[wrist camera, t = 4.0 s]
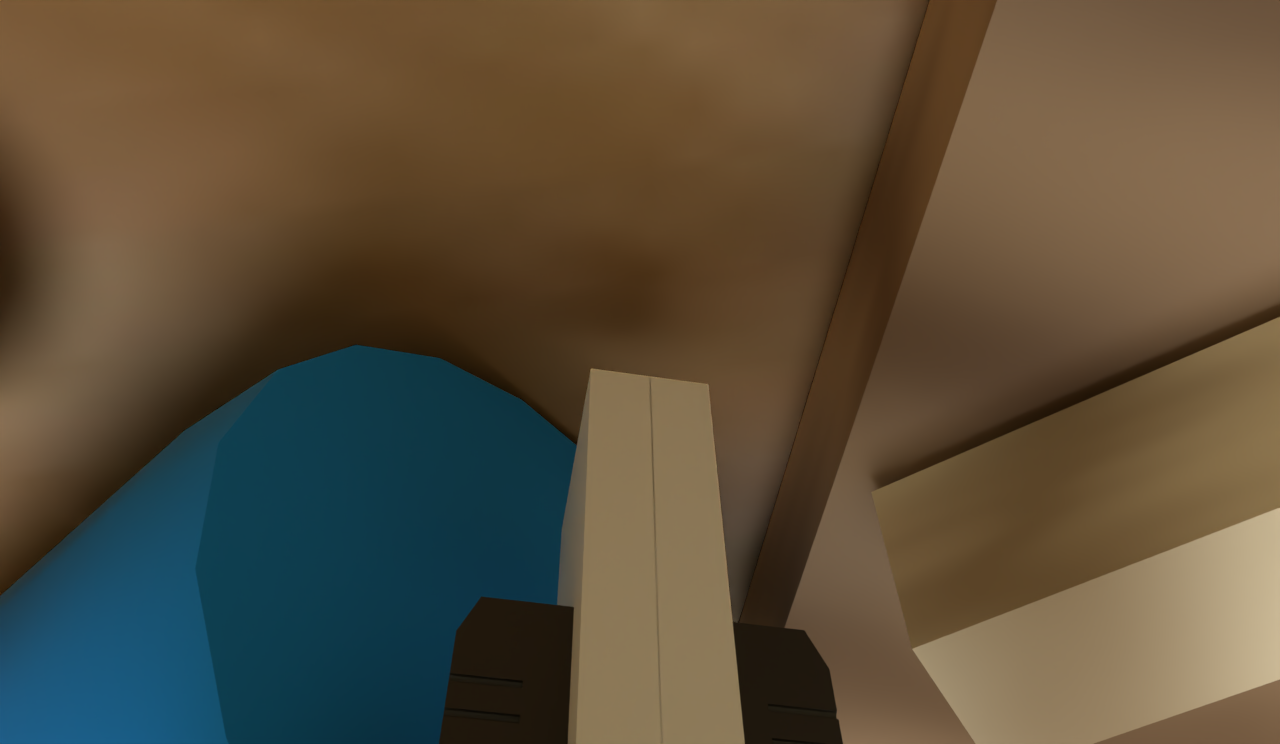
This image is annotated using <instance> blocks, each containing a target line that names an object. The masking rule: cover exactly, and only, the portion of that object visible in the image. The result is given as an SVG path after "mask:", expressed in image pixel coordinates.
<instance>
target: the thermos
mask: <svg viewBox="0 0 1280 744" xmlns="http://www.w3.org/2000/svg"><path fill="white" fill-rule="evenodd" d="M576 448H577V445H576V444H574V443H573V442H572V441H571V440H569V439H568V438H567V437H566V436H565V435H563V434H562V433H561V432H560V431H559V430H557V429H556V428H555V427H554V426H553V425H551V424H550V423H549V422H548V421H547V420H545V419H544V418H543V417H542V416H541V415H539V414H538V413H537V412H536V411H535V410H533V409H532V408H531V407H530V406H529V405H527V404H526V403H525V402H524V401H523V400H521V399H519V398H517V397H515V396H513V395H511V394H509V393H507V392H505V391H503V390H501V389H500V388H498V387H496V386H494V385H492V384H490V383H488V382H486V381H484V380H482V379H480V378H478V377H476V376H474V375H472V374H470V373H468V372H466V371H464V370H462V369H460V368H458V367H457V366H455V365H453V364H451V363H449V362H447V361H445V360H443V359H441V358H436V357H430V356H424V355H418V354H411V353H405V352H399V351H393V350H386V349H380V348H374V347H368V346H362V345H354V346H350V347H347V348H344V349H341V350H338V351H335V352H332V353H328V354H325V355H322V356H319V357H316V358H313V359H309V360H306V361H303V362H300V363H297V364H294V365H291V366H287V367H284V368H281V369H278V370H277V371H275V372H273V373H272V374H270V375H269V376H267V377H266V378H264V379H263V380H261V381H260V382H258V383H257V384H255V385H253V386H252V387H250V388H249V389H247V390H246V391H244V392H243V393H241V394H240V395H238V396H237V397H235V398H234V399H232V400H230V401H229V402H227V403H226V404H224V405H223V406H221V407H220V408H218V409H217V410H215V411H214V412H212V413H211V414H209V415H207V416H206V417H204V418H203V419H201V420H200V421H198V422H197V423H195V424H194V425H192V426H191V427H189V428H187V429H186V430H184V431H183V432H182V433H181V434H180V435H179V436H178V437H177V438H175V439H174V440H173V441H172V442H171V443H170V444H169V445H168V446H167V447H165V448H164V449H163V450H162V451H161V452H160V453H159V454H158V455H157V456H155V457H154V458H153V459H152V460H151V461H150V462H149V463H148V464H146V465H145V466H144V467H143V468H142V469H141V470H140V471H139V472H138V473H136V474H135V475H134V476H133V477H132V478H131V479H130V480H129V481H128V482H126V483H125V484H124V485H123V486H122V487H121V488H120V489H119V490H118V491H116V492H115V493H114V494H113V495H112V496H111V497H110V498H109V499H108V500H106V501H105V502H104V503H103V504H102V505H101V506H100V507H99V508H97V509H96V510H95V511H94V512H93V513H92V514H91V515H90V516H89V517H87V518H86V519H85V520H84V521H83V522H82V523H81V524H80V525H79V526H77V527H76V528H75V529H74V530H73V531H72V532H71V533H70V534H69V535H67V536H66V537H65V538H64V539H63V540H62V541H61V542H60V543H58V544H57V545H56V546H55V547H54V548H53V549H52V550H51V551H50V552H48V553H47V554H46V555H45V556H44V557H43V558H42V559H41V560H40V561H38V562H37V563H36V564H35V565H34V566H33V567H32V568H31V569H30V570H28V571H27V572H26V573H25V574H24V575H23V576H22V577H21V578H20V579H18V580H17V581H16V582H15V583H14V584H13V585H12V586H11V587H9V588H8V589H7V590H6V591H5V592H4V593H3V594H2V595H1V596H0V744H439V740H440V733H441V727H442V720H443V714H444V707H445V700H446V694H447V687H448V681H449V675H450V668H451V661H452V655H453V648H454V642H455V635H456V630H457V629H458V628H459V626H460V625H461V624H462V622H463V621H464V620H465V618H466V617H467V615H468V614H469V613H470V611H471V610H472V609H473V607H474V606H475V604H476V603H477V602H478V600H479V599H480V598H481V596H482V597H490V598H499V599H508V600H517V601H526V602H535V603H544V604H553V605H557V597H558V581H559V565H560V549H561V533H562V525H563V520H564V514H565V509H566V503H567V497H568V492H569V486H570V481H571V475H572V470H573V464H574V459H575V453H576Z"/></svg>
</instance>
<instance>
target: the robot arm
mask: <svg viewBox="0 0 1280 744" xmlns="http://www.w3.org/2000/svg"><path fill="white" fill-rule="evenodd" d="M836 714H837V708H836V702H835V697H834V691H833V686H832V680H831V675H830V669H829V668H828V666H827V664H826V663H825V661H824V660H823V658H822V657H821V655H820V654H819V652H818V651H817V649H816V647H815V646H814V644H813V643H812V641H811V640H810V638H809V637H808V635H807V634H806V632H805V630H798V629H790V628H781V627H772V626H763V625H754V624H745V623H736V622H733V621H732V611H731V601H730V592H729V582H728V572H727V562H726V552H725V542H724V532H723V522H722V512H721V502H720V492H719V482H718V473H717V463H716V453H715V443H714V433H713V423H712V413H711V403H710V393H709V384H704V383H697V382H689V381H682V380H674V379H667V378H659V377H652V376H645V375H637V374H630V373H622V372H615V371H607V370H600V369H592V368H591V370H590V375H589V381H588V387H587V392H586V398H585V403H584V409H583V414H582V420H581V425H580V431H579V436H578V442H577V448H576V453H575V459H574V464H573V470H572V475H571V481H570V486H569V492H568V497H567V503H566V509H565V514H564V520H563V525H562V533H561V549H560V565H559V581H558V597H557V605H553V604H544V603H535V602H526V601H517V600H508V599H499V598H490V597H482V596H481V598H480V599H479V600H478V602H477V603H476V604H475V606H474V607H473V609H472V610H471V611H470V613H469V614H468V615H467V617H466V618H465V620H464V621H463V622H462V624H461V625H460V626H459V628H458V629H457V630H456V635H455V642H454V648H453V655H452V661H451V668H450V675H449V681H448V687H447V694H446V700H445V707H444V714H443V720H442V727H441V733H440V740H439V744H843V741H842V735H841V730H840V724H839V719H837V718H836Z"/></svg>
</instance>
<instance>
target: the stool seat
mask: <svg viewBox="0 0 1280 744" xmlns="http://www.w3.org/2000/svg"><path fill="white" fill-rule="evenodd" d="M1278 317H1280V0H930V1H929V4H928V7H927V11H926V14H925V17H924V20H923V24H922V27H921V30H920V33H919V37H918V40H917V43H916V47H915V50H914V53H913V56H912V60H911V63H910V66H909V69H908V73H907V76H906V79H905V82H904V86H903V89H902V92H901V95H900V99H899V102H898V105H897V108H896V112H895V115H894V118H893V122H892V125H891V128H890V131H889V135H888V138H887V141H886V144H885V148H884V151H883V154H882V157H881V161H880V164H879V167H878V170H877V174H876V177H875V180H874V184H873V187H872V190H871V193H870V197H869V200H868V203H867V206H866V210H865V213H864V216H863V219H862V223H861V226H860V229H859V232H858V236H857V239H856V242H855V245H854V249H853V252H852V255H851V259H850V262H849V265H848V268H847V272H846V275H845V278H844V281H843V285H842V288H841V291H840V294H839V298H838V301H837V304H836V307H835V311H834V314H833V317H832V321H831V324H830V327H829V330H828V334H827V337H826V340H825V343H824V347H823V350H822V353H821V356H820V360H819V363H818V366H817V369H816V373H815V376H814V379H813V382H812V386H811V389H810V392H809V396H808V399H807V402H806V405H805V409H804V412H803V415H802V418H801V422H800V425H799V428H798V431H797V435H796V438H795V441H794V444H793V448H792V451H791V454H790V458H789V461H788V464H787V467H786V471H785V474H784V477H783V480H782V484H781V487H780V490H779V493H778V497H777V500H776V503H775V506H774V510H773V513H772V516H771V519H770V523H769V526H768V529H767V533H766V536H765V539H764V542H763V546H762V549H761V552H760V555H759V559H758V562H757V565H756V568H755V572H754V575H753V578H752V581H751V585H750V588H749V591H748V595H747V598H746V601H745V604H744V608H743V611H742V614H741V617H740V621H739V623H745V624H754V625H763V626H772V627H781V628H790V629H798V630H805V632H806V634H807V635H808V637H809V638H810V640H811V641H812V643H813V644H814V646H815V647H816V649H817V651H818V652H819V654H820V655H821V657H822V658H823V660H824V661H825V663H826V664H827V666H828V668H829V669H830V675H831V680H832V686H833V691H834V697H835V702H836V708H837V714H836V718H837V719H839V724H840V730H841V735H842V741H843V744H975V742H974V741H973V739H972V738H971V736H970V735H969V733H968V732H967V730H966V729H965V727H964V726H963V724H962V723H961V721H960V720H959V718H958V717H957V715H956V714H955V712H954V711H953V709H952V708H951V706H950V705H949V703H948V702H947V700H946V699H945V697H944V696H943V694H942V693H941V691H940V690H939V688H938V687H937V685H936V684H935V682H934V681H933V679H932V678H931V676H930V675H929V673H928V672H927V670H926V669H925V667H924V666H923V665H922V663H921V662H920V660H919V659H918V657H917V656H916V654H915V653H914V651H913V650H912V647H911V643H910V639H909V635H908V631H907V628H906V624H905V620H904V616H903V612H902V608H901V604H900V601H899V597H898V593H897V589H896V585H895V581H894V578H893V574H892V570H891V566H890V562H889V558H888V554H887V551H886V547H885V543H884V539H883V535H882V531H881V528H880V524H879V520H878V516H877V512H876V508H875V504H874V501H873V497H872V493H871V492H873V491H875V490H877V489H880V488H882V487H884V486H887V485H889V484H891V483H894V482H896V481H898V480H901V479H903V478H905V477H908V476H910V475H912V474H915V473H917V472H919V471H922V470H924V469H926V468H929V467H931V466H933V465H936V464H938V463H940V462H943V461H945V460H947V459H950V458H952V457H954V456H957V455H959V454H961V453H964V452H966V451H968V450H971V449H973V448H975V447H978V446H980V445H982V444H985V443H987V442H989V441H991V440H994V439H996V438H998V437H1001V436H1003V435H1005V434H1008V433H1010V432H1012V431H1015V430H1017V429H1019V428H1022V427H1024V426H1026V425H1029V424H1031V423H1033V422H1036V421H1038V420H1040V419H1043V418H1045V417H1047V416H1050V415H1052V414H1054V413H1057V412H1059V411H1061V410H1064V409H1066V408H1068V407H1071V406H1073V405H1075V404H1078V403H1080V402H1082V401H1085V400H1087V399H1089V398H1092V397H1094V396H1096V395H1099V394H1101V393H1103V392H1106V391H1108V390H1110V389H1113V388H1115V387H1117V386H1120V385H1122V384H1124V383H1127V382H1129V381H1131V380H1134V379H1136V378H1138V377H1141V376H1143V375H1145V374H1148V373H1150V372H1152V371H1155V370H1157V369H1159V368H1162V367H1164V366H1166V365H1169V364H1171V363H1173V362H1176V361H1178V360H1180V359H1183V358H1185V357H1187V356H1190V355H1192V354H1194V353H1197V352H1199V351H1201V350H1204V349H1206V348H1208V347H1211V346H1213V345H1215V344H1218V343H1220V342H1222V341H1225V340H1227V339H1229V338H1232V337H1234V336H1236V335H1239V334H1241V333H1243V332H1246V331H1248V330H1250V329H1253V328H1255V327H1257V326H1260V325H1262V324H1264V323H1266V322H1269V321H1271V320H1273V319H1276V318H1278ZM1094 744H1280V680H1277V681H1274V682H1271V683H1268V684H1265V685H1262V686H1259V687H1256V688H1253V689H1251V690H1248V691H1245V692H1242V693H1239V694H1236V695H1233V696H1230V697H1227V698H1224V699H1222V700H1219V701H1216V702H1213V703H1210V704H1207V705H1204V706H1201V707H1198V708H1195V709H1193V710H1190V711H1187V712H1184V713H1181V714H1178V715H1175V716H1172V717H1169V718H1166V719H1163V720H1161V721H1158V722H1155V723H1152V724H1149V725H1146V726H1143V727H1140V728H1137V729H1134V730H1132V731H1129V732H1126V733H1123V734H1120V735H1117V736H1114V737H1111V738H1108V739H1105V740H1102V741H1100V742H1097V743H1094Z"/></svg>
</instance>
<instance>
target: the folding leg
mask: <svg viewBox="0 0 1280 744" xmlns="http://www.w3.org/2000/svg"><path fill="white" fill-rule="evenodd" d="M871 493H872V497H873V501H874V504H875V508H876V512H877V516H878V520H879V524H880V528H881V531H882V535H883V539H884V543H885V547H886V551H887V554H888V558H889V562H890V566H891V570H892V574H893V578H894V581H895V585H896V589H897V593H898V597H899V601H900V604H901V608H902V612H903V616H904V620H905V624H906V628H907V631H908V635H909V639H910V643H911V647H912V650H913V651H914V653H915V654H916V656H917V657H918V659H919V660H920V662H921V663H922V665H923V666H924V667H925V669H926V670H927V672H928V673H929V675H930V676H931V678H932V679H933V681H934V682H935V684H936V685H937V687H938V688H939V690H940V691H941V693H942V694H943V696H944V697H945V699H946V700H947V702H948V703H949V705H950V706H951V708H952V709H953V711H954V712H955V714H956V715H957V717H958V718H959V720H960V721H961V723H962V724H963V726H964V727H965V729H966V730H967V732H968V733H969V735H970V736H971V738H972V739H973V741H974V742H975V744H1094V743H1097V742H1100V741H1102V740H1105V739H1108V738H1111V737H1114V736H1117V735H1120V734H1123V733H1126V732H1129V731H1132V730H1134V729H1137V728H1140V727H1143V726H1146V725H1149V724H1152V723H1155V722H1158V721H1161V720H1163V719H1166V718H1169V717H1172V716H1175V715H1178V714H1181V713H1184V712H1187V711H1190V710H1193V709H1195V708H1198V707H1201V706H1204V705H1207V704H1210V703H1213V702H1216V701H1219V700H1222V699H1224V698H1227V697H1230V696H1233V695H1236V694H1239V693H1242V692H1245V691H1248V690H1251V689H1253V688H1256V687H1259V686H1262V685H1265V684H1268V683H1271V682H1274V681H1277V680H1280V317H1278V318H1276V319H1273V320H1271V321H1269V322H1266V323H1264V324H1262V325H1260V326H1257V327H1255V328H1253V329H1250V330H1248V331H1246V332H1243V333H1241V334H1239V335H1236V336H1234V337H1232V338H1229V339H1227V340H1225V341H1222V342H1220V343H1218V344H1215V345H1213V346H1211V347H1208V348H1206V349H1204V350H1201V351H1199V352H1197V353H1194V354H1192V355H1190V356H1187V357H1185V358H1183V359H1180V360H1178V361H1176V362H1173V363H1171V364H1169V365H1166V366H1164V367H1162V368H1159V369H1157V370H1155V371H1152V372H1150V373H1148V374H1145V375H1143V376H1141V377H1138V378H1136V379H1134V380H1131V381H1129V382H1127V383H1124V384H1122V385H1120V386H1117V387H1115V388H1113V389H1110V390H1108V391H1106V392H1103V393H1101V394H1099V395H1096V396H1094V397H1092V398H1089V399H1087V400H1085V401H1082V402H1080V403H1078V404H1075V405H1073V406H1071V407H1068V408H1066V409H1064V410H1061V411H1059V412H1057V413H1054V414H1052V415H1050V416H1047V417H1045V418H1043V419H1040V420H1038V421H1036V422H1033V423H1031V424H1029V425H1026V426H1024V427H1022V428H1019V429H1017V430H1015V431H1012V432H1010V433H1008V434H1005V435H1003V436H1001V437H998V438H996V439H994V440H991V441H989V442H987V443H985V444H982V445H980V446H978V447H975V448H973V449H971V450H968V451H966V452H964V453H961V454H959V455H957V456H954V457H952V458H950V459H947V460H945V461H943V462H940V463H938V464H936V465H933V466H931V467H929V468H926V469H924V470H922V471H919V472H917V473H915V474H912V475H910V476H908V477H905V478H903V479H901V480H898V481H896V482H894V483H891V484H889V485H887V486H884V487H882V488H880V489H877V490H875V491H873V492H871Z"/></svg>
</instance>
